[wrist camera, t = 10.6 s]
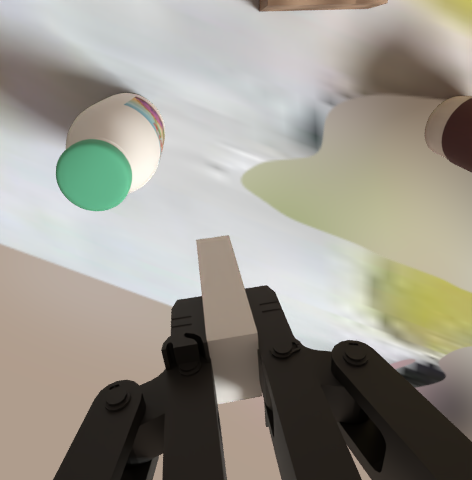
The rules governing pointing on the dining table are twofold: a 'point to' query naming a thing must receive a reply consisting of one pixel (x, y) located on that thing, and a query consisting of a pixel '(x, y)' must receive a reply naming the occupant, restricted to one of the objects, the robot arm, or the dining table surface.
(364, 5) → the button board
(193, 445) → the robot arm
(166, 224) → the dining table surface
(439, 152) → the coffee cup
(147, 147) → the milk bottle
